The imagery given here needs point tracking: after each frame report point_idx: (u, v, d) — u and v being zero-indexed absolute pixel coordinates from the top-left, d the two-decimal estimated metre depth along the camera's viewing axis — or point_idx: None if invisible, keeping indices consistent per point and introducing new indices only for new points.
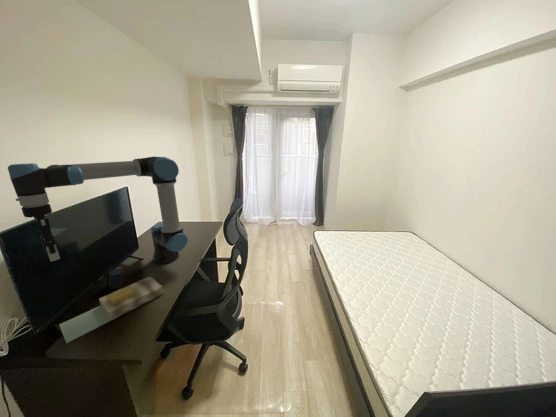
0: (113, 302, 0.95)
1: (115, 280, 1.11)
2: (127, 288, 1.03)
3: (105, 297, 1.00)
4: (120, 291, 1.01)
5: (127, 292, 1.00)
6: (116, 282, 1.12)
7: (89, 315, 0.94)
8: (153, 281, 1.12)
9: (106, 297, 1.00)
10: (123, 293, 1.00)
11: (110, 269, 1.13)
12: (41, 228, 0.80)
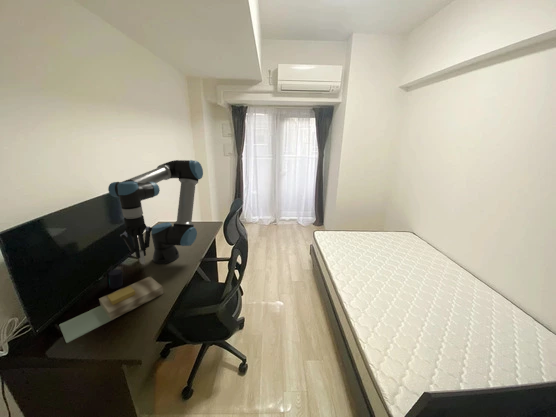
0: (113, 302, 0.95)
1: (115, 280, 1.11)
2: (127, 288, 1.03)
3: (105, 297, 1.00)
4: (120, 291, 1.01)
5: (127, 292, 1.00)
6: (116, 282, 1.12)
7: (89, 315, 0.94)
8: (153, 281, 1.12)
9: (106, 297, 1.00)
10: (123, 293, 1.00)
11: (110, 269, 1.13)
12: None
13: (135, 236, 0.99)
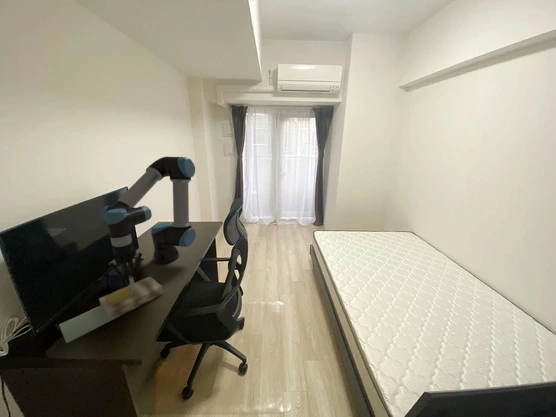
0: (111, 303, 0.95)
1: (115, 280, 1.11)
2: (125, 289, 1.03)
3: (105, 297, 1.00)
4: (118, 292, 1.01)
5: (125, 293, 1.00)
6: (116, 282, 1.12)
7: (89, 315, 0.94)
8: (153, 281, 1.12)
9: None
10: (121, 293, 0.99)
11: (110, 269, 1.13)
12: None
13: (124, 263, 0.97)
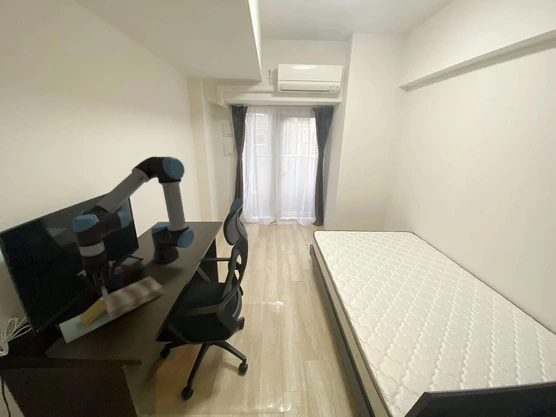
0: (86, 323, 0.89)
1: (115, 280, 1.11)
2: (98, 302, 0.95)
3: None
4: (91, 308, 0.93)
5: (97, 308, 0.92)
6: (116, 282, 1.12)
7: None
8: (153, 281, 1.12)
9: None
10: (94, 309, 0.92)
11: None
12: (82, 278, 0.88)
13: (95, 274, 0.89)
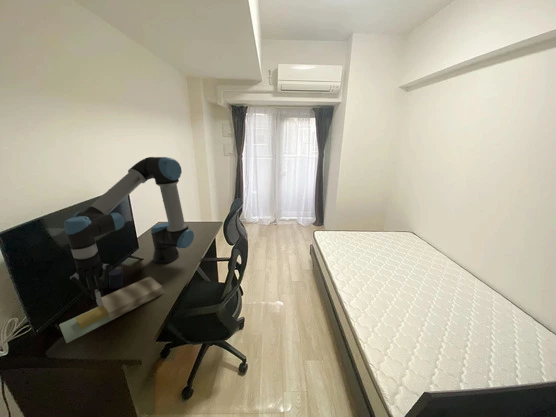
0: (81, 325, 0.88)
1: (115, 280, 1.11)
2: (99, 308, 0.96)
3: (105, 297, 1.00)
4: (91, 312, 0.93)
5: (98, 313, 0.93)
6: (116, 282, 1.12)
7: None
8: (153, 281, 1.12)
9: (106, 297, 1.00)
10: (93, 314, 0.92)
11: (110, 269, 1.13)
12: None
13: (88, 277, 0.88)
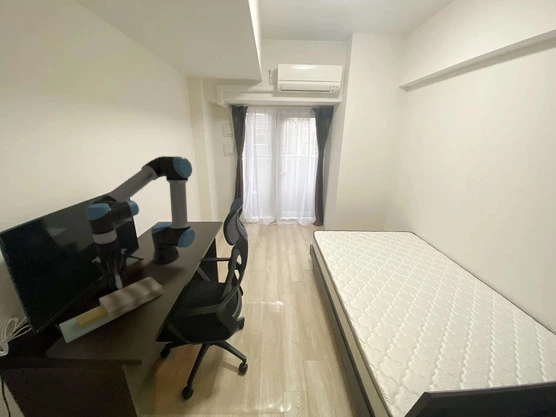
0: (81, 325, 0.88)
1: None
2: (99, 308, 0.96)
3: (105, 297, 1.00)
4: (91, 312, 0.93)
5: (98, 313, 0.93)
6: None
7: None
8: (153, 281, 1.12)
9: (106, 297, 1.00)
10: (93, 314, 0.92)
11: None
12: None
13: (109, 261, 0.93)
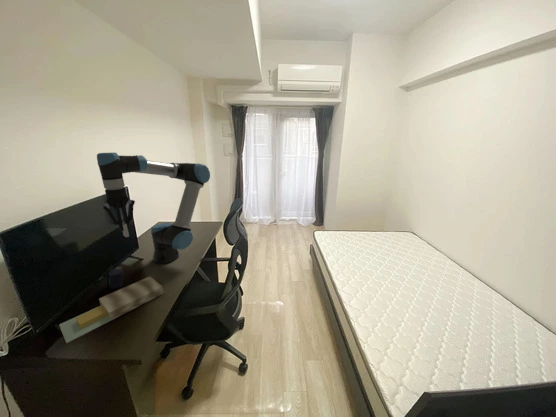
0: (81, 325, 0.88)
1: (115, 280, 1.11)
2: (99, 308, 0.96)
3: (105, 297, 1.00)
4: (91, 312, 0.93)
5: (98, 313, 0.93)
6: (116, 282, 1.12)
7: None
8: (153, 281, 1.12)
9: (106, 297, 1.00)
10: (93, 314, 0.92)
11: (110, 269, 1.13)
12: None
13: (117, 208, 0.99)
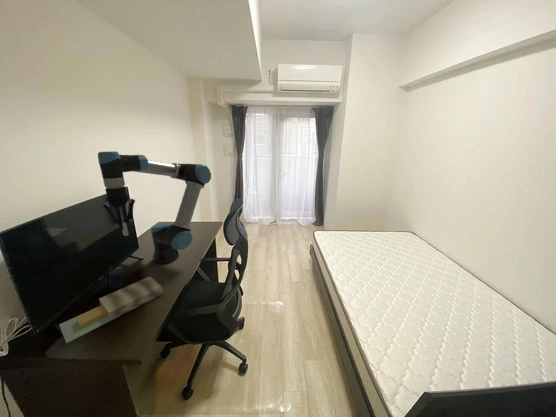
0: (81, 325, 0.88)
1: (115, 280, 1.11)
2: (99, 308, 0.96)
3: (105, 297, 1.00)
4: (91, 312, 0.93)
5: (98, 313, 0.93)
6: (116, 282, 1.12)
7: None
8: (153, 281, 1.12)
9: (106, 297, 1.00)
10: (93, 314, 0.92)
11: (110, 269, 1.13)
12: None
13: (117, 207, 0.99)
